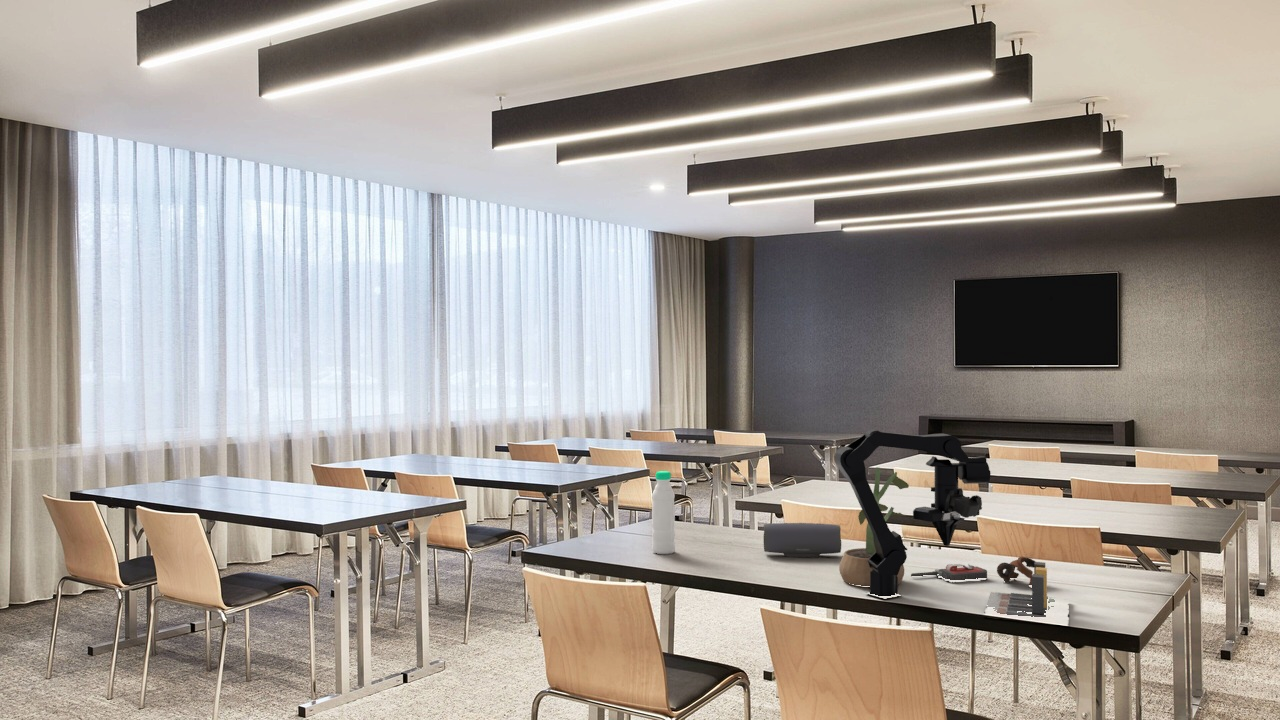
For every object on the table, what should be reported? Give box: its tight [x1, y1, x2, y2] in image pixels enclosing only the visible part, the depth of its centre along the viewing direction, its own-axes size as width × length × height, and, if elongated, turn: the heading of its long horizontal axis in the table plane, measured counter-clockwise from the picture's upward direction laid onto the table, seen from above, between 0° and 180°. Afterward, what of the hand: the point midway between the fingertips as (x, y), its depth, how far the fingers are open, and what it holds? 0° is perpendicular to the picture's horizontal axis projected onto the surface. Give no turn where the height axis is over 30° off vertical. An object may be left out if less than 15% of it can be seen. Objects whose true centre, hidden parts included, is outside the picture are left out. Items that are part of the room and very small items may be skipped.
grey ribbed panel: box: [985, 561, 1055, 617], centre depth 221 cm, size 18×22×10 cm
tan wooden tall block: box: [1035, 567, 1048, 608], centre depth 220 cm, size 2×3×9 cm
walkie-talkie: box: [910, 563, 988, 580], centre depth 253 cm, size 9×4×20 cm
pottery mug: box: [996, 556, 1037, 586], centre depth 246 cm, size 12×10×8 cm
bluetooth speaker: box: [763, 522, 842, 558], centre depth 283 cm, size 23×9×10 cm, turn 84°
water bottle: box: [651, 470, 676, 555], centre depth 289 cm, size 7×7×25 cm
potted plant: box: [838, 467, 910, 586], centre depth 252 cm, size 22×18×30 cm
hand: (946, 545), depth 236 cm, fingers closed
